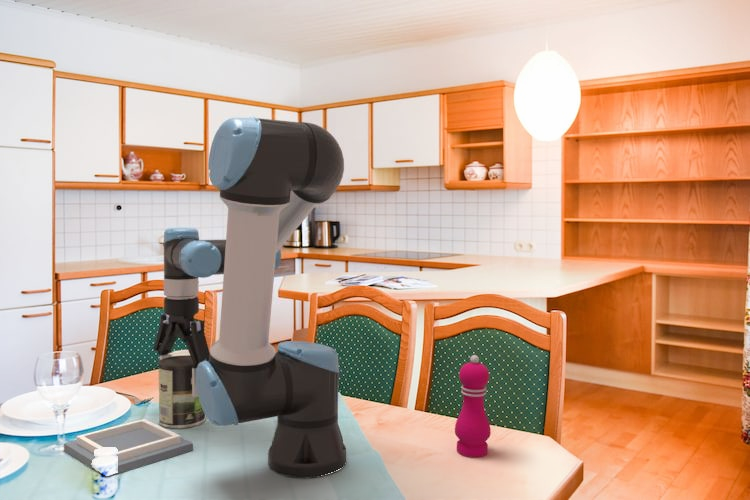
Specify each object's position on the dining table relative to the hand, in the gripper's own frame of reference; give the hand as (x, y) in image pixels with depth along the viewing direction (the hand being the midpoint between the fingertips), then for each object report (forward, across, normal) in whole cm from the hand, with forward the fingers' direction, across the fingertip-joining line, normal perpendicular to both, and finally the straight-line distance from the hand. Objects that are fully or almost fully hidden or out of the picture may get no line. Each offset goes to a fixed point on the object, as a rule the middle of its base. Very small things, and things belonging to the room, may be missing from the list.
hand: (181, 388), depth 149 cm
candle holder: (+8, +12, -9) cm, 17 cm away
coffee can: (+8, 0, 0) cm, 8 cm away
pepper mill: (+7, -58, -31) cm, 66 cm away
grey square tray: (+7, -8, +17) cm, 20 cm away
